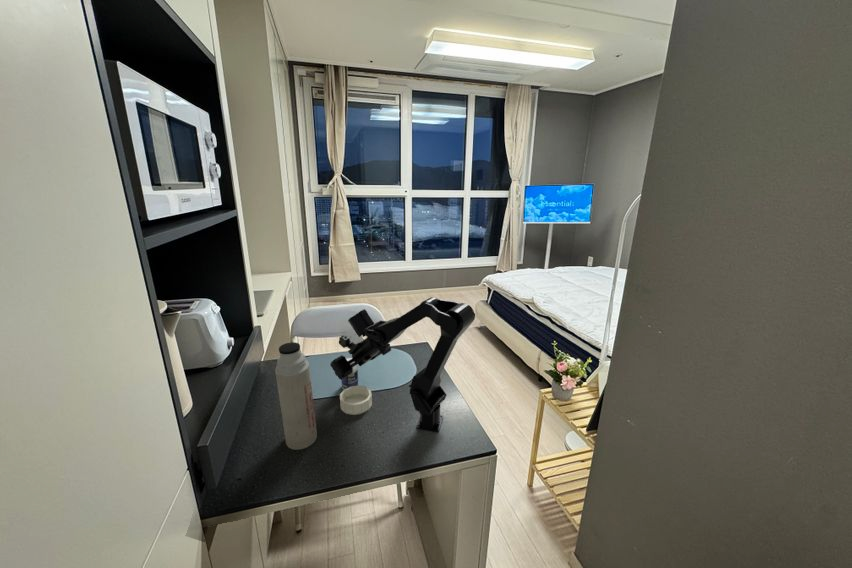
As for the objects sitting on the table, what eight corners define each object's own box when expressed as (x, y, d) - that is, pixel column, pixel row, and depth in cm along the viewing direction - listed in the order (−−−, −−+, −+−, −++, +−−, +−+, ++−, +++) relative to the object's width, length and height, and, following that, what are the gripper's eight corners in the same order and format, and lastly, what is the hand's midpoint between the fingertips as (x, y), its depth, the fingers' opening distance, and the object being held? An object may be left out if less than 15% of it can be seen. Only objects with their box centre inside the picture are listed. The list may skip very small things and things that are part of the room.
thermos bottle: (322, 430, 97) (312, 340, 88) (307, 452, 90) (295, 356, 81) (296, 426, 98) (284, 337, 90) (279, 447, 91) (264, 352, 82)
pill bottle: (349, 393, 113) (347, 367, 110) (338, 387, 116) (336, 361, 113) (361, 385, 117) (360, 360, 114) (351, 379, 120) (349, 355, 117)
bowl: (364, 417, 102) (363, 407, 101) (334, 411, 104) (333, 401, 103) (376, 397, 111) (376, 388, 110) (349, 392, 113) (348, 383, 112)
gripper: (375, 315, 114) (352, 336, 124) (332, 337, 99) (310, 359, 109) (394, 343, 113) (370, 363, 122) (353, 369, 98) (329, 389, 107)
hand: (346, 367), depth 115 cm, fingers open, 9 cm apart
